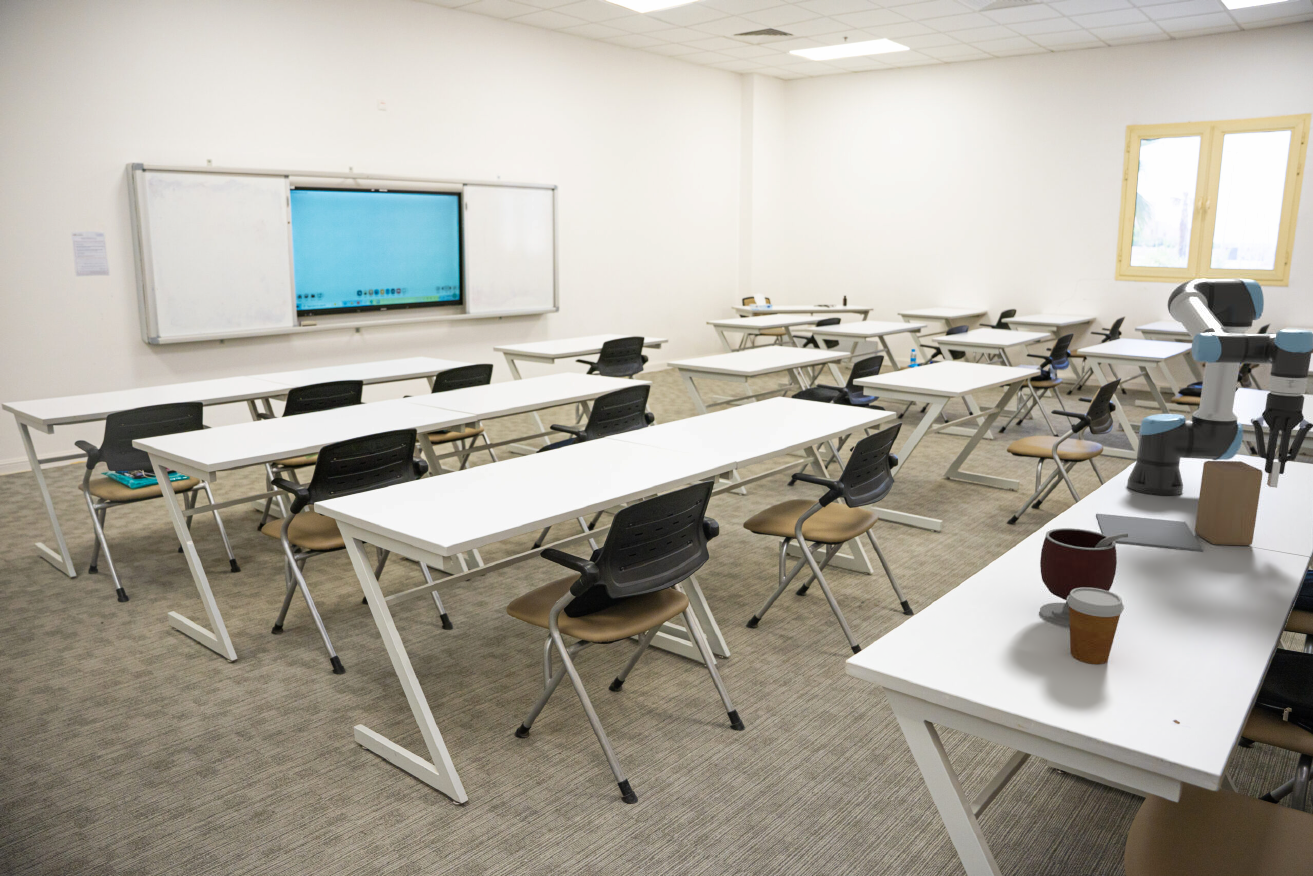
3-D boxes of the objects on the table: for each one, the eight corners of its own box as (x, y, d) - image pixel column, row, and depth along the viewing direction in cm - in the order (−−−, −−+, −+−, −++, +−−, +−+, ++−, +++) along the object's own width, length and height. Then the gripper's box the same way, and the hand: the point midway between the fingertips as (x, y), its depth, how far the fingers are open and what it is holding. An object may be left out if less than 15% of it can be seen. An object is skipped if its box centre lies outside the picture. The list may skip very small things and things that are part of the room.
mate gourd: (1025, 618, 182) (1033, 525, 178) (1049, 598, 192) (1058, 510, 188) (1105, 640, 172) (1117, 542, 167) (1127, 618, 182) (1138, 525, 177)
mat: (1096, 515, 250) (1096, 513, 250) (1185, 523, 242) (1185, 521, 242) (1104, 541, 228) (1105, 539, 228) (1203, 551, 221) (1203, 549, 220)
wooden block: (1232, 534, 234) (1243, 460, 229) (1253, 546, 224) (1265, 470, 220) (1192, 533, 235) (1202, 459, 230) (1211, 545, 225) (1222, 469, 221)
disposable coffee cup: (1051, 646, 169) (1057, 587, 167) (1099, 644, 170) (1105, 585, 167) (1078, 669, 160) (1085, 607, 157) (1129, 667, 161) (1136, 605, 158)
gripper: (1259, 394, 217) (1245, 487, 222) (1322, 397, 212) (1307, 492, 217) (1251, 389, 223) (1238, 479, 229) (1312, 392, 219) (1297, 484, 224)
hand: (1271, 485), depth 223 cm, fingers closed
